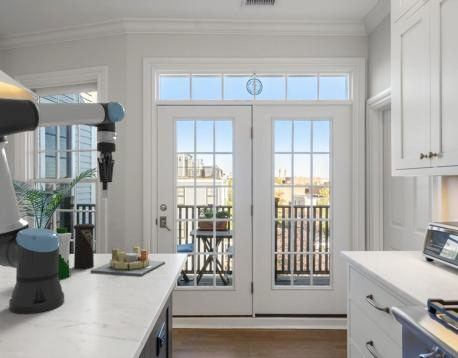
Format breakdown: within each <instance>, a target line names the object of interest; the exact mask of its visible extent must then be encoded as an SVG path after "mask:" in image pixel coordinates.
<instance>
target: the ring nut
mask: <svg viewBox="0 0 458 358" xmlns="http://www.w3.org/2000/svg"><path fill="white" fill-rule="evenodd" d="M132 253H136V254H138V261H137V262H126V254H127V252H125V251H120V248H112V250H111V259H110V260H109V263H110V267H112V268H113V269H114V268H115V269H137V268H143V267H146V266H147V265H149V261H150V258H149V249H141V246H134V247H133V252H132Z"/></svg>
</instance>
